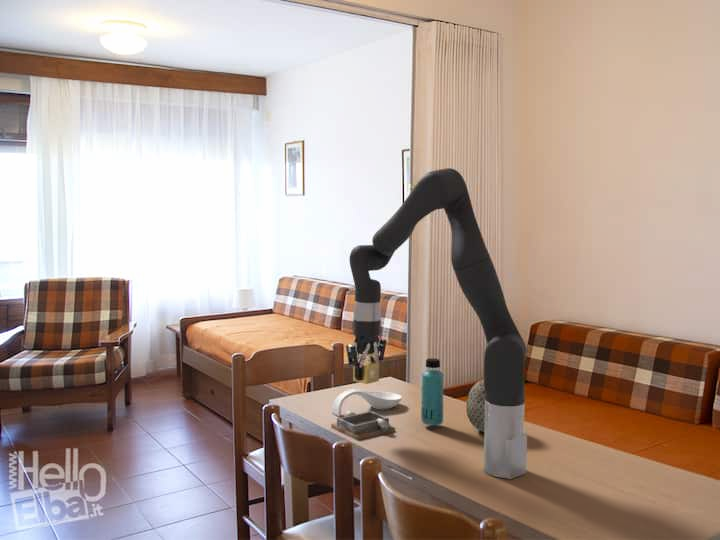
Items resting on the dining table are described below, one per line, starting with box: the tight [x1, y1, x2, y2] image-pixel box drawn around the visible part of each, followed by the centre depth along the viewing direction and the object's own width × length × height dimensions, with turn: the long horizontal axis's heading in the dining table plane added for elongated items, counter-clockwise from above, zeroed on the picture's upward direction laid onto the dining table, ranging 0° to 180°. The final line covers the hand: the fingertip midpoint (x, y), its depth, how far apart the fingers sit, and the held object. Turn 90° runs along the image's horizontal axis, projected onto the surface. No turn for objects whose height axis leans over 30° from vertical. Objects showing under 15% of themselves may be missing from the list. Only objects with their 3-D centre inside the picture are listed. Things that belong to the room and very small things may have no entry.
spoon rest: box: [331, 388, 403, 417], centre depth 207 cm, size 24×12×7 cm, turn 122°
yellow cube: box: [352, 359, 380, 385], centre depth 182 cm, size 5×5×5 cm
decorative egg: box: [465, 379, 485, 433], centre depth 186 cm, size 12×12×15 cm
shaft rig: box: [330, 410, 396, 441], centre depth 188 cm, size 15×13×4 cm
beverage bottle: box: [420, 357, 445, 426], centre depth 190 cm, size 6×7×20 cm
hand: (365, 378), depth 182 cm, fingers closed on yellow cube, 5 cm apart
